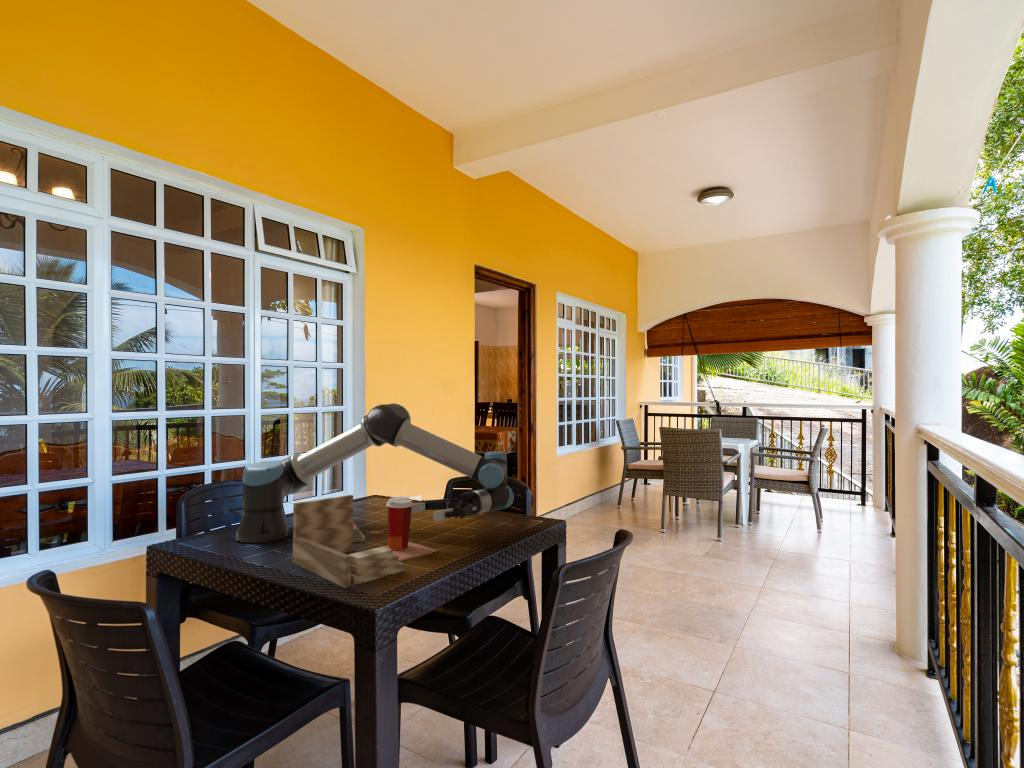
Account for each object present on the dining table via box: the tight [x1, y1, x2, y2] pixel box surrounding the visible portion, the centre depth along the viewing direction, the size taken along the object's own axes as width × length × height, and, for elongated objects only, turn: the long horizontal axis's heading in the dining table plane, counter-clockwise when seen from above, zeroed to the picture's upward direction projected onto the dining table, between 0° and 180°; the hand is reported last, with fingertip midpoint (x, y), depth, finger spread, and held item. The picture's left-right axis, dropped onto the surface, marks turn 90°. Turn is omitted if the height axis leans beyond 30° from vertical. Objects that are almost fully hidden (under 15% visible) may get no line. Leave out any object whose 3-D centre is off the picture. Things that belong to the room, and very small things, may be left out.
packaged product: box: [353, 521, 367, 543], centre depth 174 cm, size 18×5×10 cm
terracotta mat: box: [383, 540, 438, 563], centre depth 155 cm, size 14×14×1 cm
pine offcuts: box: [347, 546, 405, 586], centre depth 135 cm, size 14×5×6 cm, turn 136°
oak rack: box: [292, 494, 354, 589], centre depth 143 cm, size 17×28×16 cm, turn 46°
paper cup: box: [385, 496, 414, 550], centre depth 157 cm, size 8×8×14 cm
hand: (420, 513), depth 160 cm, fingers open, 13 cm apart
